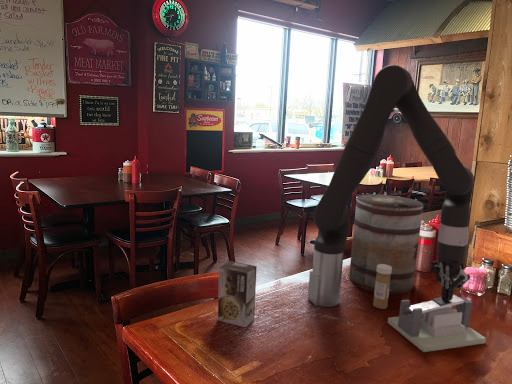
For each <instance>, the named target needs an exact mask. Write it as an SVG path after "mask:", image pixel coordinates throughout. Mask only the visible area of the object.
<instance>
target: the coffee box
mask: <svg viewBox="0 0 512 384" xmlns="http://www.w3.org/2000/svg"><path fill="white" fill-rule="evenodd" d="M256 282H257V265H252V264H247V263H244V262H243V263H242V262H238V261H232V260H228V261H227V262H225V263H224V264H222V265H221V266H219V267H218V301H217V302H218V303H217V304H218V305H217V306H218V307H217V321H219V322H223V323H227V324H231V325H234V326H238V327H241V328H246V327H248V326H249V325H250V324H251V323H252V322H253V321H254V320H255V313H256V312H255V311H256V310H255V308H256V289H257V288H256V287H257V283H256Z"/></svg>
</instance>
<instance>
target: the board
mask: <svg viewBox="0 0 512 384" xmlns="http://www.w3.org/2000/svg"><path fill="white" fill-rule="evenodd" d="M458 297H459V296H458ZM459 298H461V299H462V300H464V303H461V304H457V305H455V308H453V306H449V307H446V308H442V309H438V310H434V311H430V312H426V313H422V309H421V308H415V309H413V312H412V313H411V312H410V311H408V310H407V306H411V305H410V304H411V300H409V299H402V300H401V299H400V304H399V305H400V307H399V314H398V316H392V317H390V316H389V317H388V318H387V324H389V326H391V327H392V328H394V329H395V330H396V332H397V331H398V332H399V333H400V334H401V335H402V336H403V337H405V338H406V339H407V340H408V341H409V342H411V343H412V344H413V345H414V346H415V347H417V348H418V349H419V350H420V351H421V352H422V353H427V352H429V353H430V352H434V351H442V350H447V349H449V350H450V349H454V348H463V347H467V346H475V345H481V344H482V345H483V344H485V343H486V341H487V340H486V337H485V336H483V335H482V334H480V333H479V332H477V331H475V330H474V329H473V328H471V327H470V319H471V313H472V306H473V301H471V300H469V299H468V298H466V297H464V296H460V297H459Z"/></svg>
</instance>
